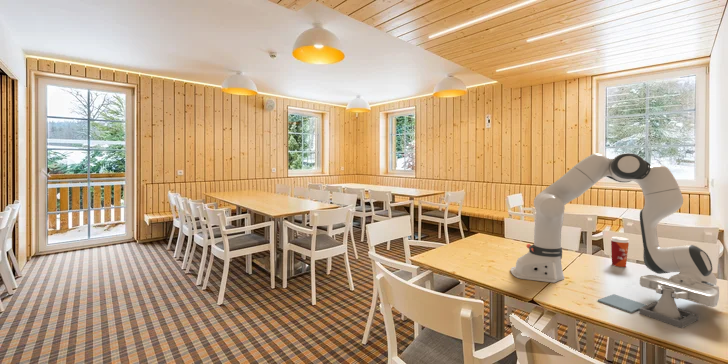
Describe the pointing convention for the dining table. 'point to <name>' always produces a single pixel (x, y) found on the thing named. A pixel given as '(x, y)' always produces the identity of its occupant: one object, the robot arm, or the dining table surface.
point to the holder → (680, 323)
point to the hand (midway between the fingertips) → (666, 293)
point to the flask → (667, 304)
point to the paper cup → (619, 251)
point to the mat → (622, 303)
